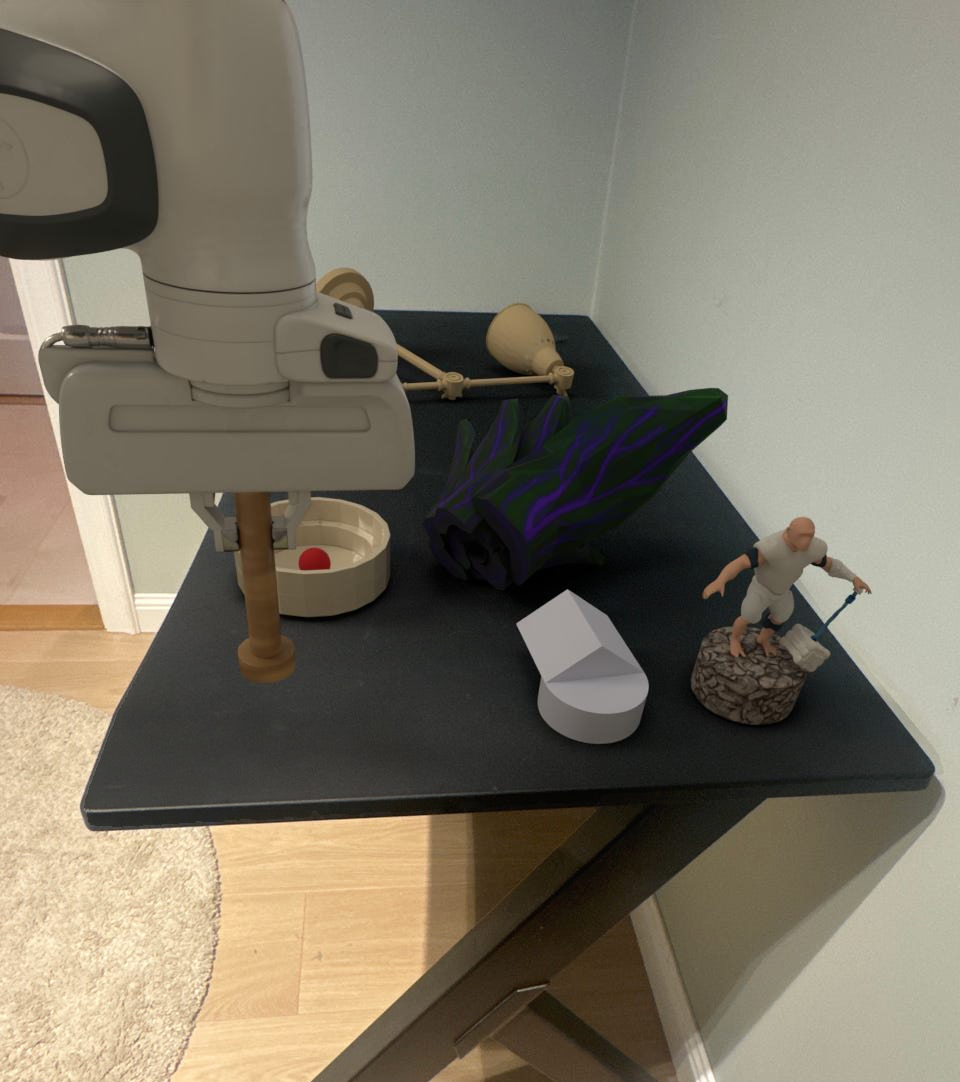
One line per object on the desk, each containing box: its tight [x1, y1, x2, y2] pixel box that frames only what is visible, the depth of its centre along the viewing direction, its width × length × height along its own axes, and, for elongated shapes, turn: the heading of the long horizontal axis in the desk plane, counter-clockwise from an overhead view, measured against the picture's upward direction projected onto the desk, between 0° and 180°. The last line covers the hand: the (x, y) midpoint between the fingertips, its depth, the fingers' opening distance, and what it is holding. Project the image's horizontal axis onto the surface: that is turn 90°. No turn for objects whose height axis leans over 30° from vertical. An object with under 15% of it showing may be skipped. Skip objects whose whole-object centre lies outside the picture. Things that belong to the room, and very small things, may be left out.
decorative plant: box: [422, 387, 729, 591], centre depth 83 cm, size 21×26×30 cm
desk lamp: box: [316, 266, 575, 401], centre depth 131 cm, size 15×35×40 cm
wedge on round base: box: [516, 589, 650, 745], centre depth 67 cm, size 9×7×13 cm
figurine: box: [690, 516, 873, 726], centre depth 65 cm, size 15×9×18 cm, turn 99°
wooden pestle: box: [232, 492, 297, 684], centre depth 53 cm, size 4×4×16 cm
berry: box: [298, 548, 331, 571], centre depth 79 cm, size 3×3×3 cm
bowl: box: [233, 496, 392, 618], centre depth 79 cm, size 15×15×6 cm
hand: (257, 546), depth 51 cm, fingers closed on wooden pestle, 2 cm apart
